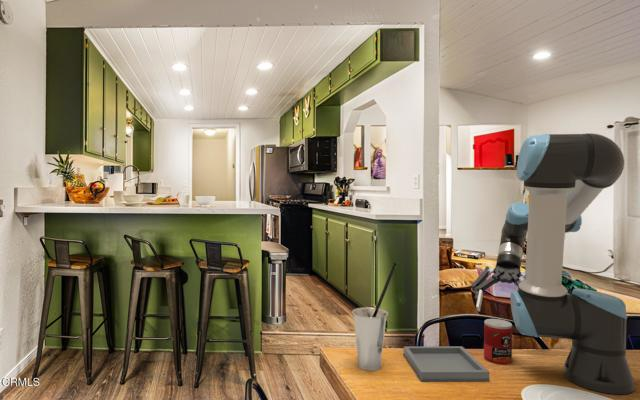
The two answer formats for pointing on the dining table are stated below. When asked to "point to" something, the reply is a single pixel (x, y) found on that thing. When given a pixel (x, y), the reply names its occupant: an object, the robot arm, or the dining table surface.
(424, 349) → the tray
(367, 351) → the glass
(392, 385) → the dining table surface
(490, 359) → the canned food
